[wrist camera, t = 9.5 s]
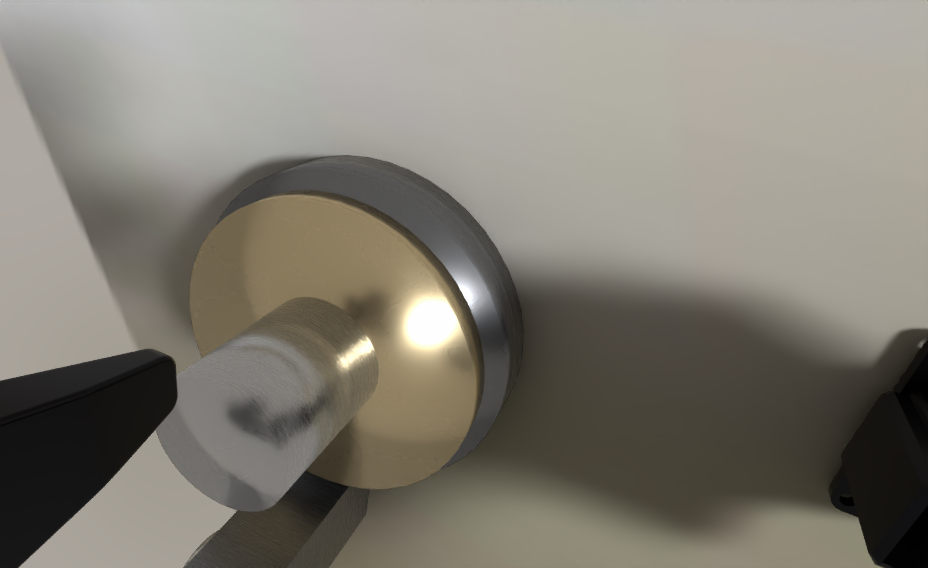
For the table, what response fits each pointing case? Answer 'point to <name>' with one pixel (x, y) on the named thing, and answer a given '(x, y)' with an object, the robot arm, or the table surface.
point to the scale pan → (371, 305)
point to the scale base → (493, 307)
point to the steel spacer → (269, 402)
